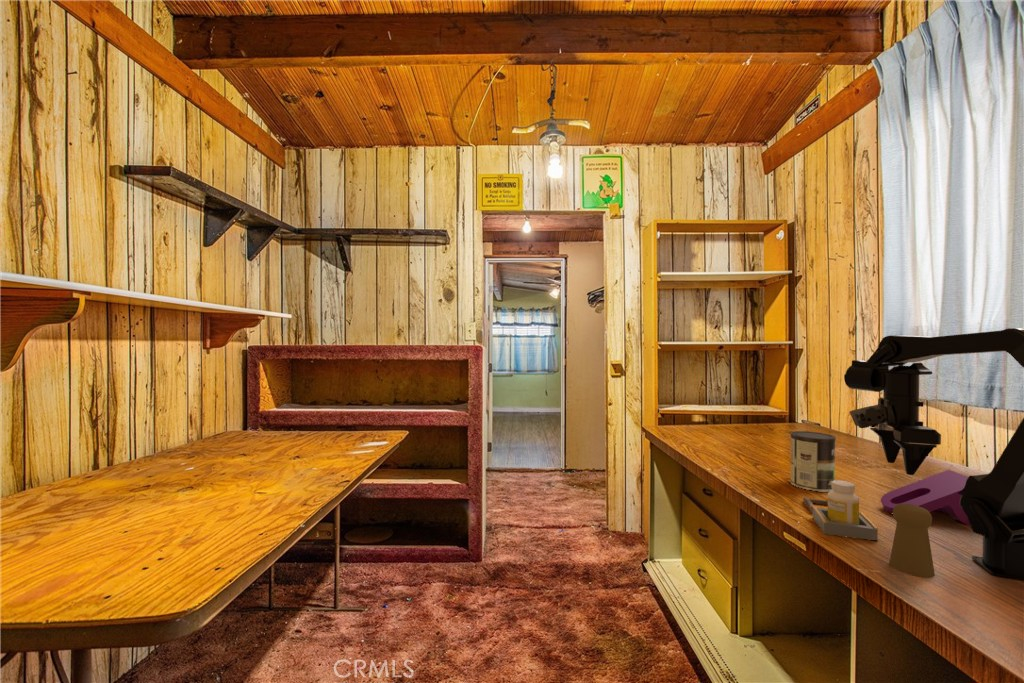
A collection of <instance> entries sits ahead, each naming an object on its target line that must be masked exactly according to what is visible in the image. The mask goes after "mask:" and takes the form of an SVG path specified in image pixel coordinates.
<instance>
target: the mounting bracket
mask: <svg viewBox="0 0 1024 683" xmlns="http://www.w3.org/2000/svg"><path fill="white" fill-rule="evenodd" d="M968 477H969V476H967V475H965V474H961V473H959V472H956V471H955V470H954V471H953V470H951V469H946V470H944V471H942V472H939V473H936V474H935V473H934V474H933V475H930V476H928V477H926V478H923V479H920V480H918V481H913V482H911V483H909V484H906V485H904V486H901V487H898V488H896V489H892V490H891V491H888V492H886V493H885V494H883V495H882V496H881V497H880V502H881V505H882V506H883V509H884V510H885V511H886V512H887V511H888V512H890V513H893V509H894V507H895V506H896V505H898V504H911V505H916V506H919V507H922V508H924V509H926V510H928V511H929V512H930V513H931V512H934V511H938V512H940V511H942V512H941V513H946V512H948V514H949V516H951V517H952V518H953V519H955V520H957V521H958V522H960V523H962V524H965V525H967V524H970V522H969V520H968V517H967V515H966V514H965V512H964V511H963V509H962V507H961V506H960V498H961V496H962V495H960V494H958V492H960V491H961V490H963V488H964V487H965V484H966V481H967V479H968ZM888 512H887V513H888ZM890 513H889V514H890Z"/></svg>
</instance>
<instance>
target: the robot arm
mask: <svg viewBox="0 0 1024 683" xmlns="http://www.w3.org/2000/svg"><path fill="white" fill-rule="evenodd" d="M998 352H1001V353H1002V352H1006V353H1008V354H1009V355H1010V356H1011V357H1012V358H1013V359H1014V360H1015V361H1016V362H1017V363H1018V364H1019V365H1020V366H1021V368H1024V328H1017V327H1016V328H1013V327H1009V328H1004V329H1002V330H991V331H983V332H982V331H981V332H973V333H962V334H961V333H960V334H950V335H941V336H928V335H927V336H926V335H886V336H884V337H882V339H881V340H880V341H879V343H878V346H877V348H876V350H875V351H874V352H873V354H871V356H870V357H869V358H868V360H867V361H866V360H861V359H856V360H854V359H852V360H851V365H849V367H848V368H847V369H846V371H845V373H844V377H843V378H844V383H845V385H846V387H847V388H849V389H851V390H857V391H866V392H877V393H879V392H880V393H881V392H883V393H882V394H883V397H879V398H878V399H877V404H874V405H870V406H865V407H861V408H860V407H859V408H856V409H854V410H852V409H851V410H850V411H849V413H850V416H851V419H852V422H853V425H855V426H856V427H858V428H860V429H866V428H869V430H871V431H872V432H873V433H875V434H876V435H877V436H878V437H879V440H880V442H881V445H882V449H883V453H884V455H885V459H886V462H887V463H890V464H895V463H896V460H897V457H898V455H899V452H900V451H902V452H901V453H902V458H903V464H904V465H903V466H904V469H905V473H906V475H908V476H913V475H915V473H916V472H917V471H918V469H919V468H920V467H921V465H922V463H923V462H924V461H925V460H926V458H927V457H928V456H929V455H930V453H931V452H932V450H933V449H936V448H937V446H939V445H942V434H941V433H939V431H937V430H936V429H934V428H931V427H929V426H925V425H924V421H922V420H920V407H922V408H923V407H924V401H922V400H920V376H921V375H922V376H926V375H929V376H930V375H933V371H932V370H930V369H929V368H928V367H926V366H925V365H924V364H923V363H922V362H923V361H927V360H932V359H934V358H937V357H941V356H943V357H944V356H950V355H951V356H952V355H969V354H983V353H985V354H986V353H998ZM908 363H912V364H911V365H906V364H908ZM889 367H891V368H889ZM967 477H968V479H967V481H966V484H965V487H964V488H963V490H961V491H960V492H958V494H960V495H962V496H961V498H960V506H961V507H962V509H963V511H964V512H965V514H966V515H967V517H968V520H969V522H970V525H969V526H970V527H971V530H972V532H973V533H974V534H977V535H980V536H982V556H978V555H972V556H971V559H972V561H974V562H976V563H977V564H979V566H980V567H982V568H983V569H985V570H986V571H987V572H988V573H989V574H991V575H993V576H995V577H1003V578H1009V579H1017V580H1024V417H1022V419H1021V421H1020V422H1019V424H1018V426H1017V428H1016V430H1015V431H1014V433H1013V434H1012V436H1011V437H1010V439H1009V441H1008V443H1007V445H1006V446H1005V448H1004V449H1003V451H1002V453H1001V454H1000V457H998V460H997V461H996V463H995V465H994V466H993V468H992V470H991V471H990V472H989V473H983V474H975V475H969V476H967Z"/></svg>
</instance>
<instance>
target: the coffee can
mask: <svg viewBox="0 0 1024 683" xmlns="http://www.w3.org/2000/svg"><path fill="white" fill-rule="evenodd" d="M836 440H837V439H836V436H834V435H832V434H829V433H825V432H818V431H807V430H805V431H804V430H803V431H802V430H800V431H799V430H798V431H792V432H790V484H791V485H792V486H793V485H794V486H793V487H795V486H796V487H795V488H798V487H799V488H798V489H801V488H802V489H801V490H804V489H806V490H805V491H809V490H812V491H811V492H815V491H818V493H829V492H830V491H832V490H833V489H832V481H834V480H836V478H835V477H836Z"/></svg>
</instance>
